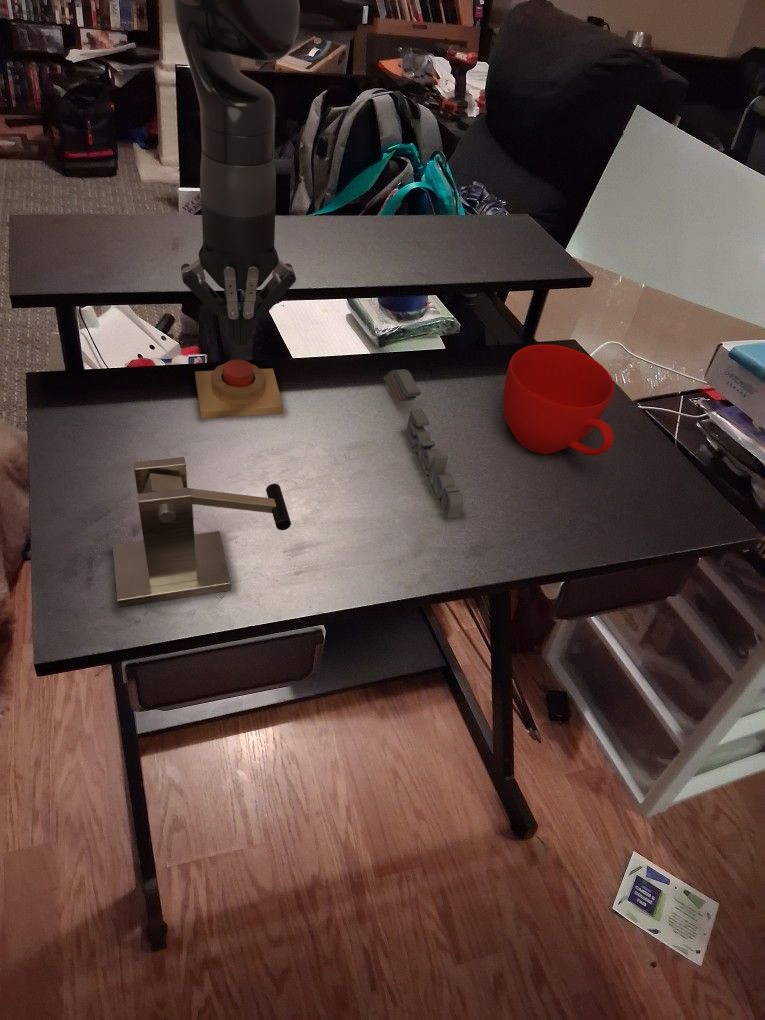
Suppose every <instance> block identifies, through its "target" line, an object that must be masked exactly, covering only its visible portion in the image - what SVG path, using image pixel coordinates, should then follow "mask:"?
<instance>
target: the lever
mask: <svg viewBox="0 0 765 1020" xmlns="http://www.w3.org/2000/svg"><path fill="white" fill-rule="evenodd" d="M189 488H190V489H191V494H192V505H195V506H205V507H212V508H222V509H230V510H239V511H241V510H242V511H249V512H256V513H265V514H266V513H267V514H272V518H273V520H274V525H275V527H276V529H277V530H278V531H286V530H288V529H289V528H290V527H291V525H292V521H291V518H290V515H289V511H288V508H287V505H286V501H285V498H284V494H283V491H282V488H281V486H280V485H279V484H278V483H271V484H269V485H267V486H266V488H265V492H266V497H263V496H256V495H247V494H239V493H232V492H224V491H215V490H206V489H197V488H191V487H189ZM175 489H184V488H183V483H182V478H181V477H177V476H169V475H162V474H154V473H150V474H149V477H148V480H147V483H146V486H145V488H144V491H143V493H149V492H158V491H167V490H175Z"/></svg>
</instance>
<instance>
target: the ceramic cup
mask: <svg viewBox="0 0 765 1020" xmlns="http://www.w3.org/2000/svg"><path fill="white" fill-rule="evenodd" d="M614 392H615V383H614V380H613V377H612V376H611V374H610V372H609V371H608V370H607V368H605V367H604V366H603V365H602V364H601V363H600V362H598V361H597V360H596V359H594V358H592V357H591V356H589V355H587V354H586V353H584V352H581V351H579V350H576V349H573V348H570V347H567V346H562V345H558V344H548V343H547V344H546V343H539V344H532V345H527V346H525V347H522V348H520V349H518V350H517V351H516V352H514V354H513V355H512V357H511V359H510V360H509V363H508V366H507V369H506V373H505V379H504V385H503V393H502V408H503V415H504V418H505V421H506V424H507V426H508V428H509V429H510V431H511V433H512V434H513V436H514V438H515V440H516V441H517V443H519V444H520V445H521V446H522V447H524V448H525V449H527V450H529V451H531V452H534V453H539V454H552V453H557V452H558V451H562V450H565V449H567V448H572V449H573V450H575V451H577V452H580V453H581V454H584V455H587V456H598V455H602V454H604V453H606V452H607V451H608V450H610V449H611V447H612V445H613V442H614V433H613V430H612V428H611V427H610V425H609V424H607V423H606V422H605V421H604V420H602V419H601V418H602V416H603V414H604V413H605V411H606V410H607V407H608V406H609V404H610V402H611V400H612V398H613V396H614ZM593 428H597V429H598V430H599V431H600V433H601V434H602V443H601V445H600V447H599V448H592V447H591V446H590V447H589V446H588V445H585V444H583V443H581V442H580V441H581V440H583V439H584V438H585V437H586V436H587V435H588V434H590V432H591V431H592V430H593Z"/></svg>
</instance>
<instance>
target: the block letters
mask: <svg viewBox="0 0 765 1020" xmlns="http://www.w3.org/2000/svg"><path fill="white" fill-rule="evenodd" d="M382 380H384V382H385V384H386V386H387V388H388V390H389V392H390V394H391V396H392V398H393V400H395V401H396V402H408V401H414V400H415V399H416V398H418V397H419V396H420V395H422V393H423V392H422V391H421V390H420V389H419V387H418V385H417V382H416V381H415V379H414V378H413V375H412V373H411V372H410V371H409V370H408V369H406V368H404V369H402V368H401V369H392V370H390V371H388V372H387V374H386V375H384V377H383V378H382ZM429 425H430V421H429V419H428V416H427V415H426V412H425V411H424V409H423V408H417V409H410V412H409V416H408V420H407V424H406V430H405V436H406V438H407V440H408V443H409V444H410V447H411V448H413V449H412V450H413V452H414V454H417V461H418V463H419V464H420V465H421V469H422V471H423V473H424V475H428V483H429V485H430V487H432V490H433V494H434V496H435V498H436V499H441V501H440V504H439V505H440V508H441V509H446V512H445V515H444V517H445V518H446V520H452V519H459V518H461V515H462V511H463V508H464V504H465V501H464V496H463V494H462V492H461V491H460V488H459V486H455V479H454V477H453V475H452V474H451V473H450V472H448V473H445V470H446V467H447V463H448V459H449V456H448V454H445V453H444V454H442V453H441V451H440V450H439V449H438V448H435V449H432V448H433V447H434V446H435V445H437V444H436V442H435V440H432V438H431V436H432V435H431V433H430V431H429V430H426V428H425V426H429Z"/></svg>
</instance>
